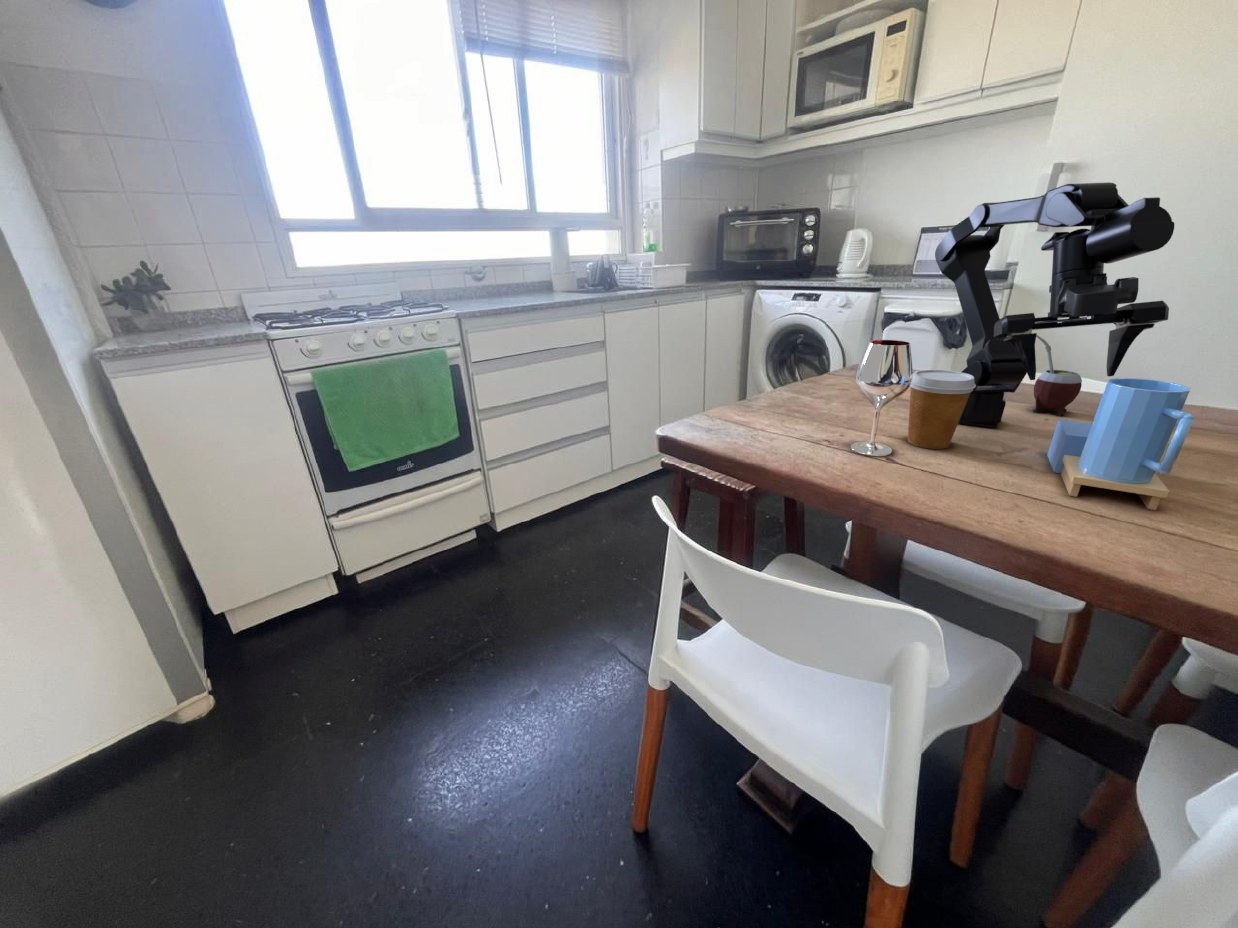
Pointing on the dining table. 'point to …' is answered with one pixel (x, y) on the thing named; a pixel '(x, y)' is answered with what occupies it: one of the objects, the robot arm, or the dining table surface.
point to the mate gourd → (1055, 387)
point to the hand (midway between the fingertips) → (1070, 378)
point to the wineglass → (882, 383)
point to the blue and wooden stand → (1066, 461)
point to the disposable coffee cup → (937, 406)
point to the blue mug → (1136, 430)
